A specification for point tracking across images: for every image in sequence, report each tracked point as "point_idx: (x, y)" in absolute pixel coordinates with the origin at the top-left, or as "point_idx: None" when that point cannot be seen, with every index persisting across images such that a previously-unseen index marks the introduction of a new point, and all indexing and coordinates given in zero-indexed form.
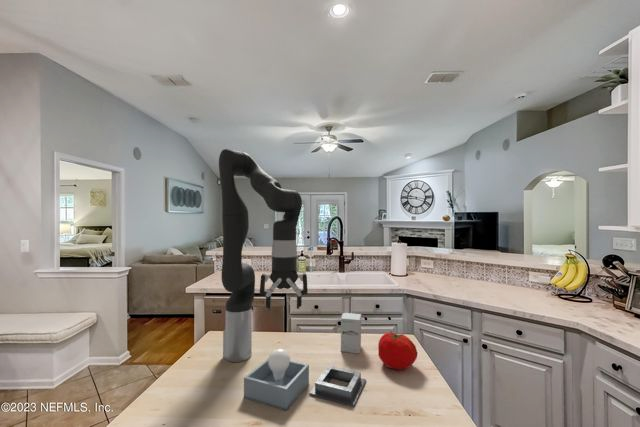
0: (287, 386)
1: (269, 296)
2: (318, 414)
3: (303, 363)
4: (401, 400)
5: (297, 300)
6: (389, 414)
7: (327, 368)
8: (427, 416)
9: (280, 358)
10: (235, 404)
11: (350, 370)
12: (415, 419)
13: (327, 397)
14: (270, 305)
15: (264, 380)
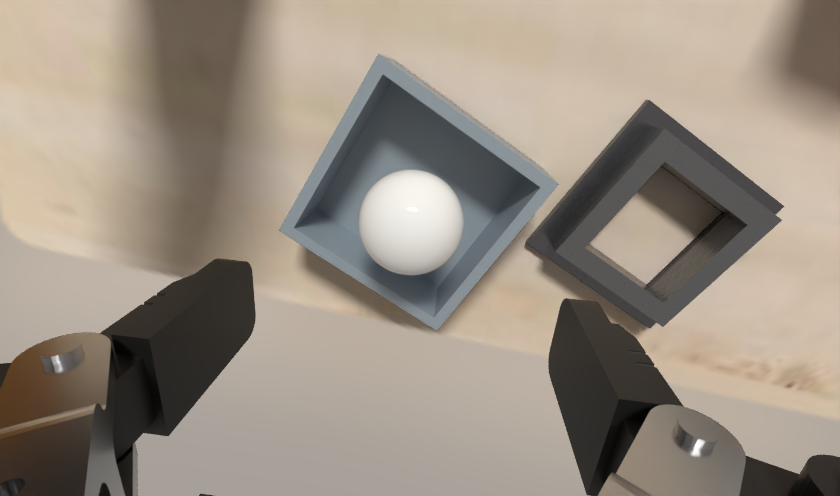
0: (441, 317)
1: (140, 426)
2: (529, 328)
3: (535, 167)
4: (821, 330)
5: (579, 445)
6: (732, 372)
7: (647, 156)
8: (834, 401)
9: (412, 274)
10: (286, 236)
11: (745, 194)
12: (789, 402)
13: (580, 278)
14: (232, 354)
15: (367, 129)
